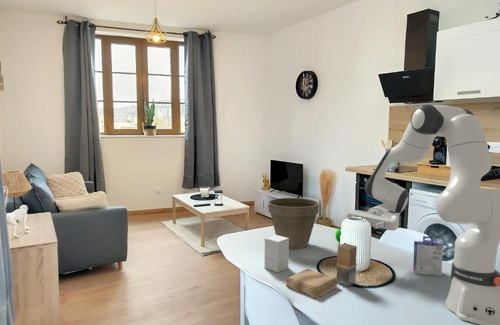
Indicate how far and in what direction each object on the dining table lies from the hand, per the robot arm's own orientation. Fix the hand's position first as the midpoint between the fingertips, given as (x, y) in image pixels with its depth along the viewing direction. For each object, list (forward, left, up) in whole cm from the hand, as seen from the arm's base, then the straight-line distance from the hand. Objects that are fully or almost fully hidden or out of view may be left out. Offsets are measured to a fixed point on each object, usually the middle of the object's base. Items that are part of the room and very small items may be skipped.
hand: (363, 223), depth 137 cm
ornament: (+24, -29, -20) cm, 42 cm away
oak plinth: (+7, +24, -20) cm, 32 cm away
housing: (0, +12, -20) cm, 24 cm away
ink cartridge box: (-18, -21, -20) cm, 34 cm away
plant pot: (+41, -9, -20) cm, 47 cm away
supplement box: (+27, +20, -20) cm, 39 cm away
